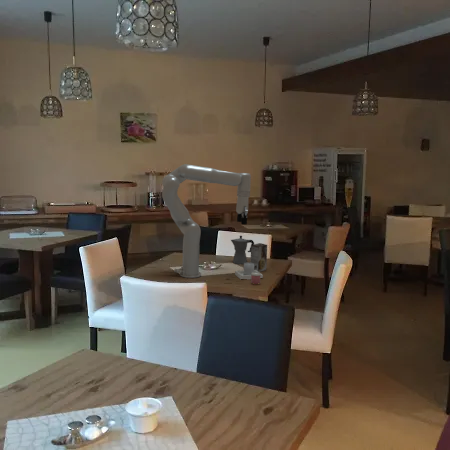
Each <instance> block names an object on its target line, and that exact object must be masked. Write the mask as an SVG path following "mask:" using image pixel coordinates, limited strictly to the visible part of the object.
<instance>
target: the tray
mask: <svg viewBox="0 0 450 450" xmlns="http://www.w3.org/2000/svg"><path fill="white" fill-rule="evenodd" d="M254 272H258V271H257V270H254ZM243 274H244V269H243V270H235V271H234V275H235V276H236V277H237V278H238V279H240V280H241V279H247V280H251V275H243ZM260 278H264V276H263V274H262V273H261V275H260Z"/></svg>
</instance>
